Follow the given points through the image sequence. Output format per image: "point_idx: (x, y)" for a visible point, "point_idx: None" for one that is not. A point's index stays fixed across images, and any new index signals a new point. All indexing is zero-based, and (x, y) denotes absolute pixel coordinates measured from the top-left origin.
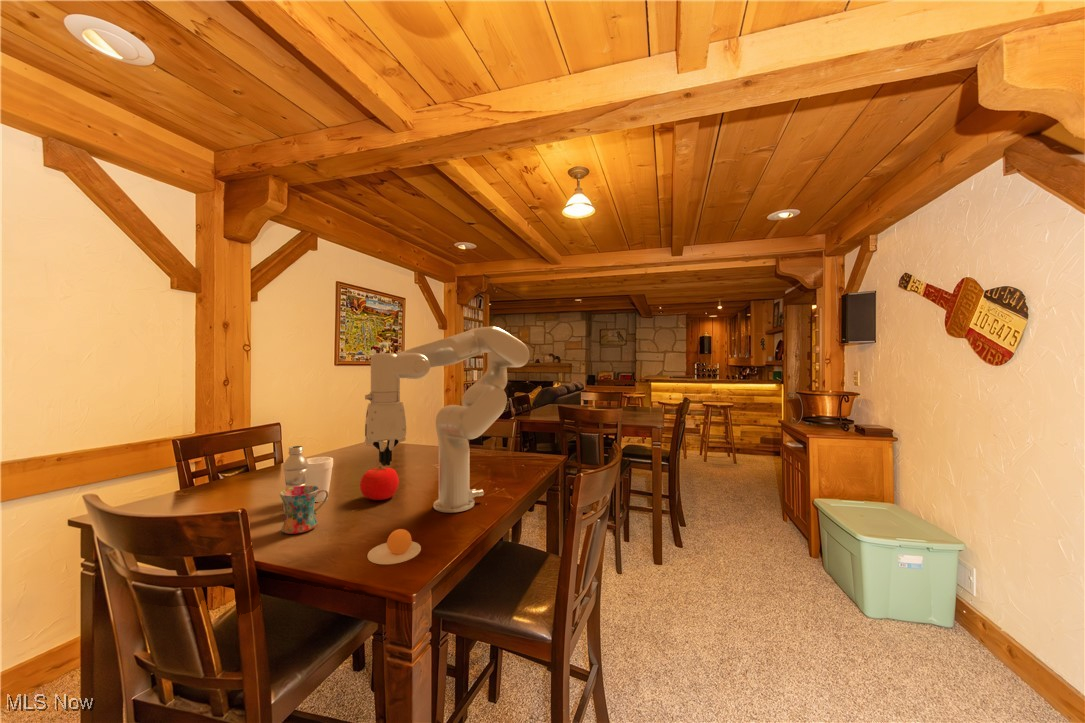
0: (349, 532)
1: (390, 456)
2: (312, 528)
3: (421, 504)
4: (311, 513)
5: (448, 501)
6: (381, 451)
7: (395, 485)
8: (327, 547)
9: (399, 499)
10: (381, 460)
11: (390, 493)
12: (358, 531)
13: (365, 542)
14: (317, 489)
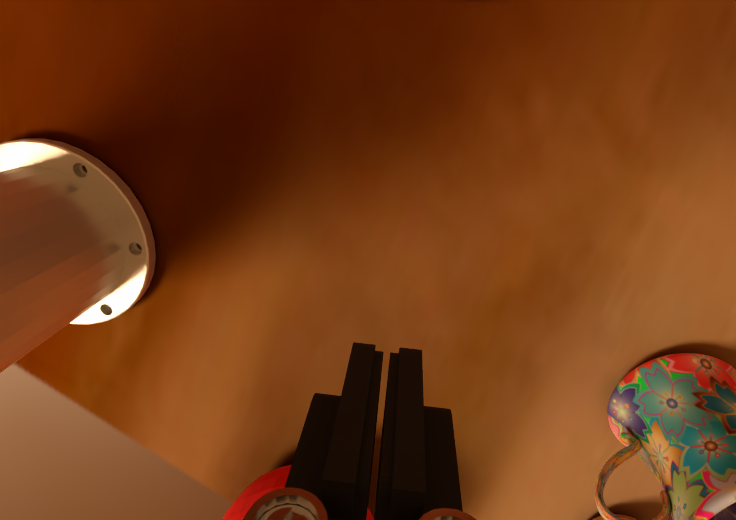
0: (543, 247)
1: (320, 431)
2: (648, 361)
3: (189, 342)
4: (677, 415)
5: (72, 202)
6: (465, 515)
7: (244, 501)
8: (687, 147)
9: (250, 443)
10: (441, 418)
11: (278, 472)
12: (511, 232)
13: (543, 86)
14: (715, 513)
